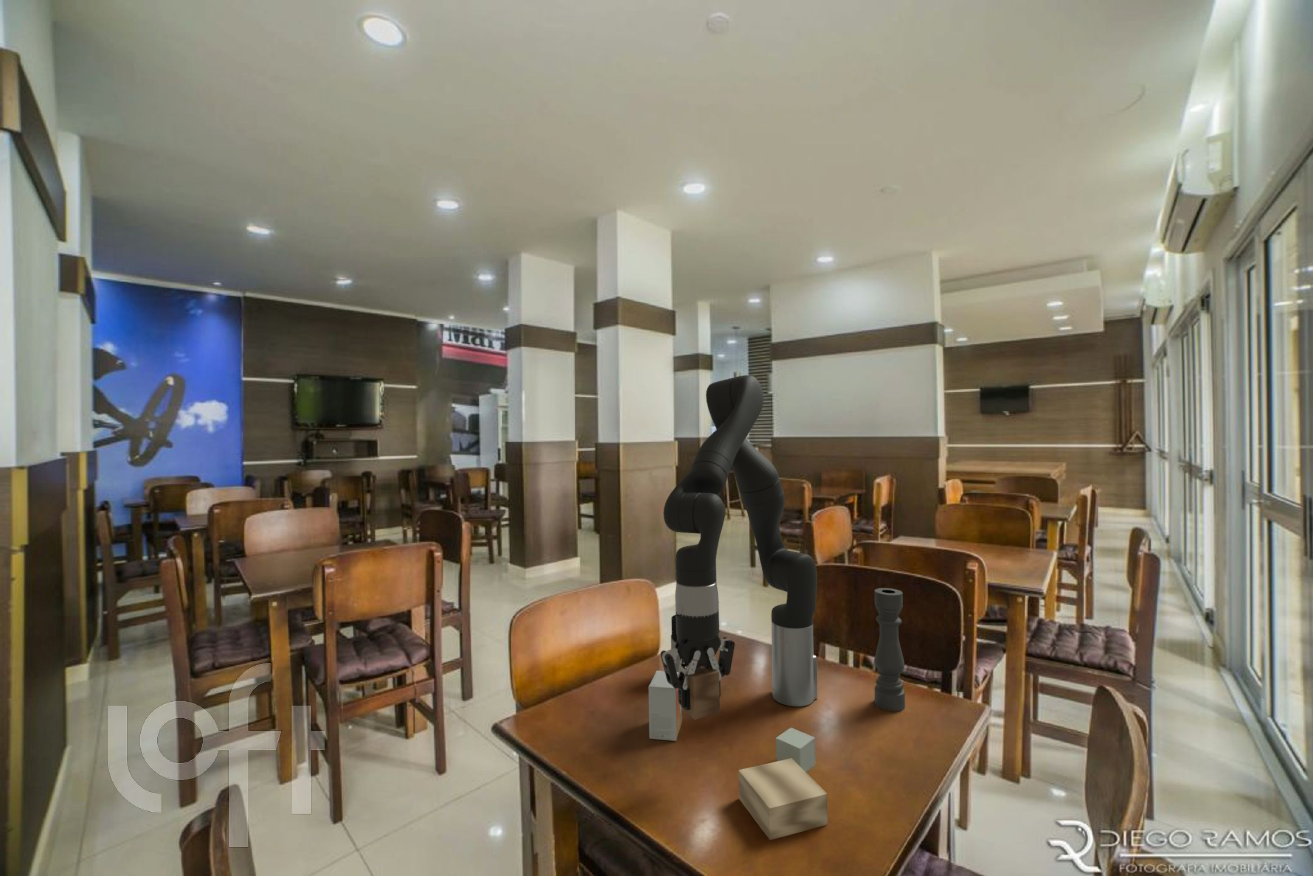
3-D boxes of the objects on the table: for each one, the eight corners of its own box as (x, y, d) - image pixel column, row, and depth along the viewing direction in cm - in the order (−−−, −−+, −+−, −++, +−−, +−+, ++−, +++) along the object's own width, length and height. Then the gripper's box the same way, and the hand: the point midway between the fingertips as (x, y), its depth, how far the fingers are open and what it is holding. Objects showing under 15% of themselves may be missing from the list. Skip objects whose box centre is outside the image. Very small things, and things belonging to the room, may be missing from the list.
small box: (676, 742, 109) (675, 688, 109) (648, 739, 110) (647, 686, 110) (682, 721, 116) (682, 671, 116) (656, 719, 118) (656, 669, 118)
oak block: (791, 787, 95) (791, 758, 95) (827, 826, 85) (827, 793, 85) (739, 800, 91) (738, 770, 91) (769, 842, 82) (769, 808, 82)
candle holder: (908, 703, 123) (907, 590, 123) (900, 714, 118) (898, 597, 118) (880, 695, 127) (878, 586, 127) (870, 705, 122) (869, 592, 122)
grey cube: (791, 754, 104) (790, 727, 104) (815, 765, 101) (814, 737, 101) (776, 765, 101) (775, 737, 101) (800, 777, 97) (800, 748, 97)
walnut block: (705, 700, 100) (704, 661, 100) (720, 712, 95) (718, 672, 95) (680, 706, 98) (679, 667, 98) (694, 719, 93) (693, 678, 93)
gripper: (720, 595, 103) (723, 686, 103) (650, 608, 97) (653, 704, 97) (743, 606, 96) (746, 704, 96) (669, 620, 90) (672, 725, 90)
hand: (699, 703), depth 97 cm, fingers closed on walnut block, 5 cm apart
